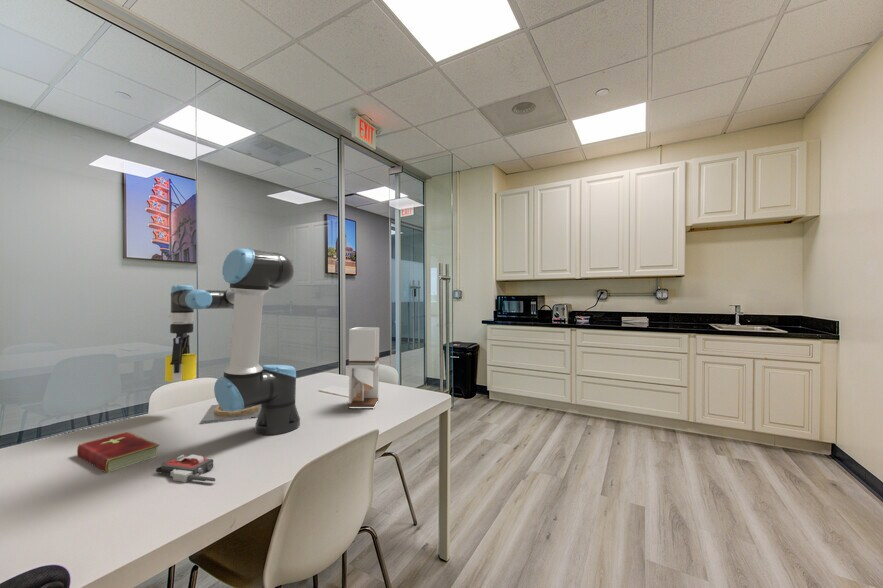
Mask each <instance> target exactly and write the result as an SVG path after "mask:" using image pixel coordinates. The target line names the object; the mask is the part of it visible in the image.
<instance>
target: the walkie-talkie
mask: <svg viewBox="0 0 883 588" xmlns="http://www.w3.org/2000/svg"><path fill="white" fill-rule="evenodd" d="M213 468H214V459H213V458H209V457H208V458H207V457H206V458H205V456H203V455H199V454H198V455H197V454H190V455H185V454H181V455H176V456H174V457H171V458H169V459H167V460H165V461H163V462H162V463H161V465H160V467H157V468H156V469H155V472H156V473H160V475H164V476H170V477H172V480H173V481H176V482H182V483H187V482H188V481H199V482H207V481H208V482H216V478H215V477H209V476H202V475H203V474H204V473H206V472H209V471H211V470H212V469H213Z"/></svg>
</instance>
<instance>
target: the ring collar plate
mask: <svg viewBox="0 0 883 588" xmlns="http://www.w3.org/2000/svg"><path fill="white" fill-rule="evenodd" d="M260 410H261V404H260V405H257V406H253V407H250V408H246V409H243V410H240V411H239V410H238V411H233V412H227V411H225V410H223V409H222V408H221V407H220V406H219V404H212V405H211V406H210V407H209V408H208V410H207V412H206V413H205V414H204V416H203V418H202V419H201V420H200V424H201V425H203V423H205V424H211V423H210V422H214V423H219V422H218V421H222V422H227V421H226V420H231V421H235V420H234V419H240V420H243V419H242V418H249V419H251V418H250V417H257V418H258V416H259V413H260Z"/></svg>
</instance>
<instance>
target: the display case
mask: <svg viewBox="0 0 883 588" xmlns="http://www.w3.org/2000/svg"><path fill="white" fill-rule="evenodd" d="M348 330H349V331H348V332H349V333H348V334H349V336H348V369H349V371H348V373H349V374H348V378H349V379H348V382H349V383H348V403H347V408H348V407H374V406H375V404H376V402H377V401H378V402H379V378H380V375H379V374H380V373H379V371H380V368H379V366H380V363H379V362H380V327H353V328H349V329H348Z"/></svg>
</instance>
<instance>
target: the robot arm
mask: <svg viewBox="0 0 883 588" xmlns="http://www.w3.org/2000/svg"><path fill="white" fill-rule="evenodd" d="M294 269H295V268H294V265H293V263H292V262H291V260H290V258H288V257H287V256H285V254H284V255H283V254H281V253H279V252H273V251H272V252H270V251H265V250H260V249H259V250H258V249H251V248H234V249H233V250H231V251H230V252H229V253H228V254H227V255H226V257H225V259H224V261H223V265H222V271H221V272H222V277H223V280H224V281H225V282H226V283H228V284H229V288H227V289H226V290H217V289H216V290H214V289H213V290H212V289H210V290H209V289H208V290H206V289H197V288H196V289H195V287H194V286H193V285H189V284H183V285H182V284H175V285H172V286H171V289H170V314H169V315H168V317H169V318H170V323H171V324H170V325H169V333H170V334H175V335H176V336H175V337H173V338H172V341H173V342H172V343H173V344H172V353H171V355H172V361H171V363H170V365H173V381H178V382H183V381H182V364H181V360H182V354H191V352H190V348H191V347H190V334H191V333H193V332H194V323H193V322H194V320H195V318H194V317H195V316H194V313H195V311H194V310H210V309H212V310H213V309H214V310H215V309H223V310H224V309H229V310H230V309H231V310H233V311H232V312H233V314H232V324H231V338H230V339H231V340H230V353H229V355H230V356H229V365H227V366H226V367H225V368H224V369H223V376H220V377H219V378H217V380H215V382H214V389H213V391H214V392H213V393H214V397H215V400H216V402H217V405H219V406H220V407H221V408H222V409H223V410H225V411H227V412H233V411H238V410H239V411H240V410H243V409H246V408H250V407H253V406H257V405H260V404H261V410H260V413H259V416H258V417H257V419H256V422H255V425H254V427H255V428H254V431H255V432H256V433H257V434H260V435H265V436H266V435H271V436H273V435H279V434H285V433H289V432H292V431H294V430H296V429H298V428H299V427H300V425H301V417H300V414H299V411H298V409H297V405H296V397H297V396H296V395H297V393H296V392H297V391H296V389H297V386H296V385H297V372H296V368H295V367H294V366H292V365H289V364H288V365H287V364H264V365H262V366H261V364H259V363H260V362H259V361H260V350H261V348H260V347H261V335H262V333H261V332H262V321H263V320H262V319H263V308H264V295H265V294H266V293H268V292H269V290H271V289H280V288H282V287H284V286H286V285H287V284H288V283H290V282H291V280H292V279H293V277H294V274H295V273H294V272H295V270H294Z"/></svg>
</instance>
